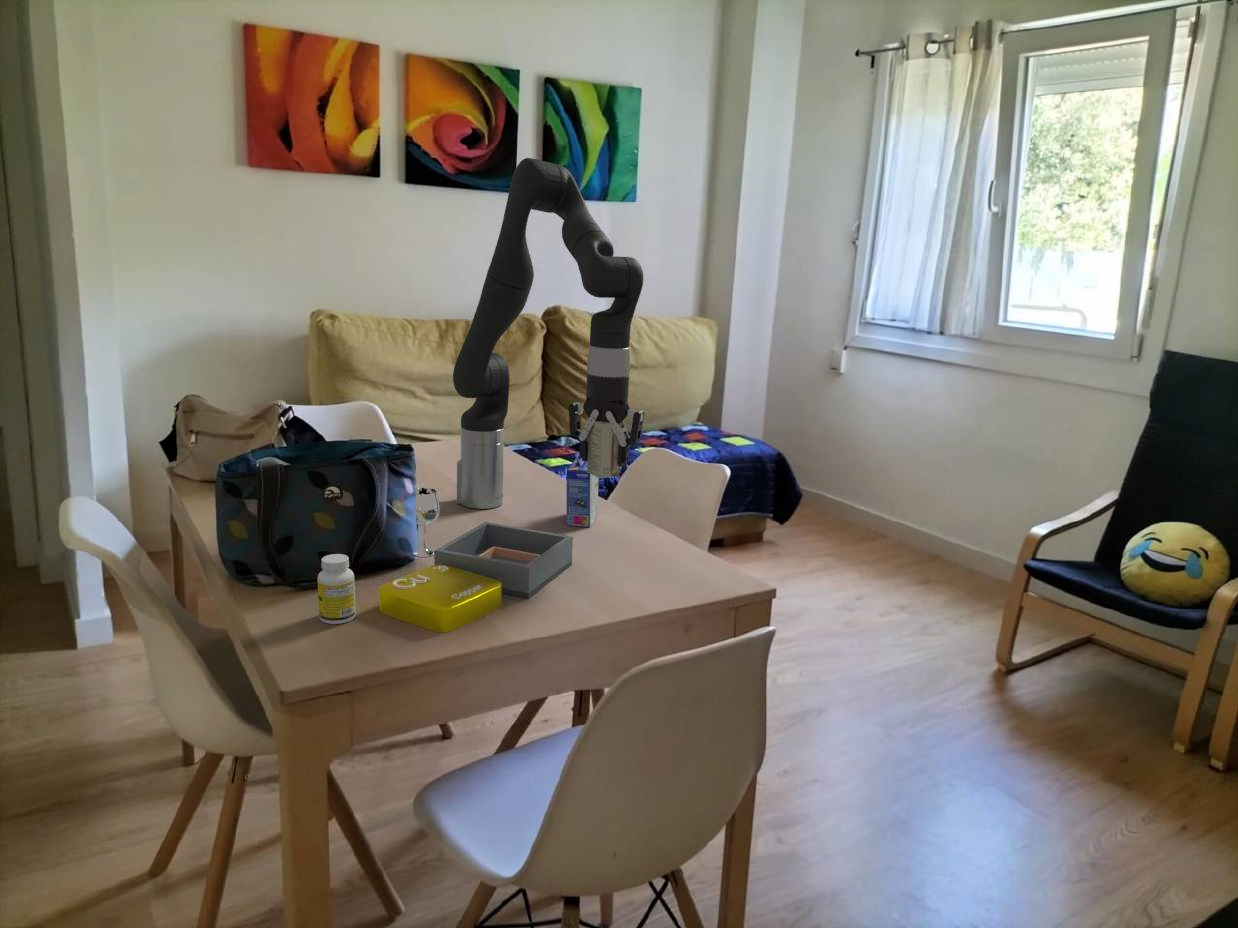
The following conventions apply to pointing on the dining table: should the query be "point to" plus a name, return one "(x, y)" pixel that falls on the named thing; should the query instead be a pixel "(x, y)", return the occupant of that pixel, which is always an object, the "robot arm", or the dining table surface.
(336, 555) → the supplement bottle
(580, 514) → the ink cartridge box
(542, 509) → the dining table surface
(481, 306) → the robot arm
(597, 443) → the skincare box
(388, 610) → the element tile
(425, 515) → the wineglass
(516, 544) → the box
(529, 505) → the dining table surface
